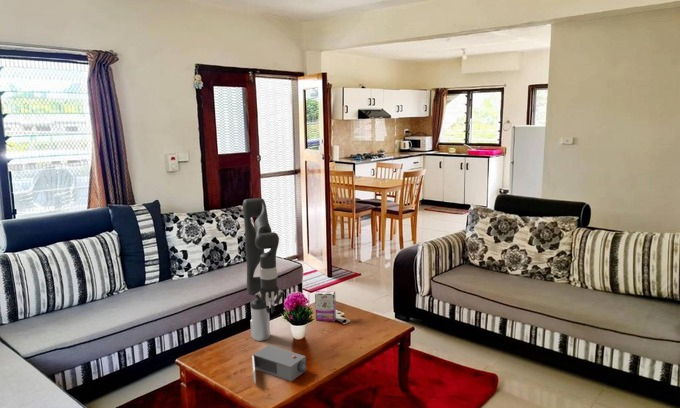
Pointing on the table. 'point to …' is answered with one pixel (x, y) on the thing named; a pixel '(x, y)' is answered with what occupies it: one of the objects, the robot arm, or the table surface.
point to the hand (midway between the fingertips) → (270, 312)
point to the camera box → (280, 362)
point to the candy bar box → (325, 305)
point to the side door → (253, 369)
